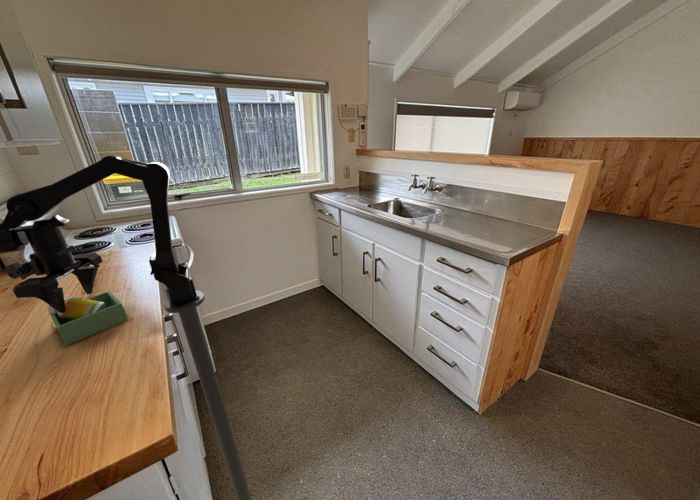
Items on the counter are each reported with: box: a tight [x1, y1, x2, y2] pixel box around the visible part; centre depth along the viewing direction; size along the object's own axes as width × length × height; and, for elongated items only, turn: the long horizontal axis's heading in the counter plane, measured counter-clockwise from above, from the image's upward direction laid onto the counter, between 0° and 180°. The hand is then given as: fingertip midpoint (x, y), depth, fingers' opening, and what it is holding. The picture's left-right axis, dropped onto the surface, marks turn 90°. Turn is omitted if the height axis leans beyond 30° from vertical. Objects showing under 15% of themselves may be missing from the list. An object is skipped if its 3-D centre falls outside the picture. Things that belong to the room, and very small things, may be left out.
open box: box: [48, 290, 129, 346], centre depth 73 cm, size 12×11×5 cm
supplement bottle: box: [47, 296, 105, 320], centre depth 72 cm, size 5×5×10 cm
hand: (76, 302), depth 72 cm, fingers open, 8 cm apart
